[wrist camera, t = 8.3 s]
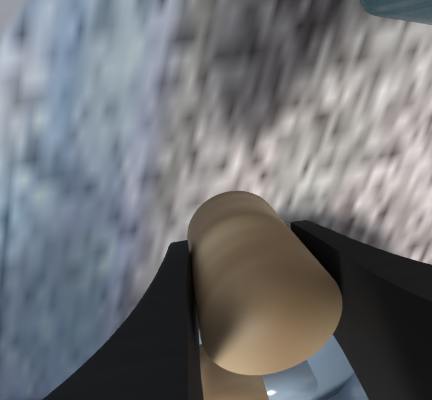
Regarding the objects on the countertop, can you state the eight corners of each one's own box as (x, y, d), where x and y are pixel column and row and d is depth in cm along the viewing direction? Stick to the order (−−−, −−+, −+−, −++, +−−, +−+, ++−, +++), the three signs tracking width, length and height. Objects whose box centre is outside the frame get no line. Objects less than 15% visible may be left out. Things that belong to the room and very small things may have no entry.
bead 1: (187, 275, 13) (199, 383, 8) (187, 191, 11) (200, 266, 6) (272, 269, 13) (328, 366, 9) (282, 189, 12) (356, 255, 7)
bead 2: (225, 363, 21) (240, 438, 17) (182, 345, 20) (186, 422, 16) (258, 328, 21) (283, 398, 16) (216, 308, 19) (230, 378, 15)
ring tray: (168, 446, 26) (168, 497, 23) (117, 276, 18) (107, 318, 15) (365, 398, 28) (390, 438, 25) (398, 227, 20) (441, 254, 17)
